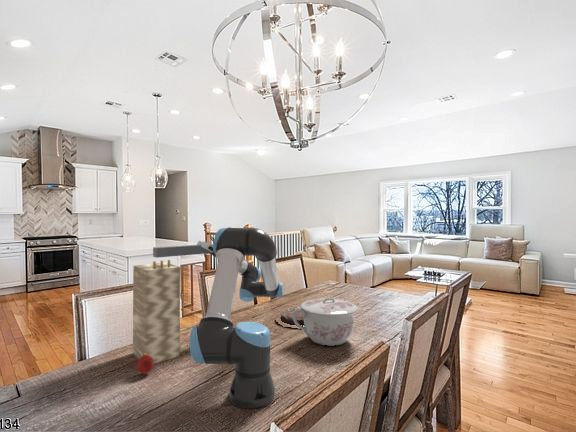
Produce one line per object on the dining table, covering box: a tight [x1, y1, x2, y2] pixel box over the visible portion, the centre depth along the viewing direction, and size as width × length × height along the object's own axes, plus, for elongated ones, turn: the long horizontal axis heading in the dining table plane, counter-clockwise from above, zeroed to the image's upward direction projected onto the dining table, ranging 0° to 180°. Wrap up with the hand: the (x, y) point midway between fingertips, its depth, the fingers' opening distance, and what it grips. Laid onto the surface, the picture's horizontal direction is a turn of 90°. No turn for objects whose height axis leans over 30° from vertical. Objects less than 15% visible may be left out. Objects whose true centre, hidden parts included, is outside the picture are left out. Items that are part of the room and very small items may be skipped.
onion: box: [136, 353, 155, 375], centre depth 120 cm, size 6×6×8 cm
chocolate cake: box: [280, 306, 304, 326], centre depth 183 cm, size 28×28×7 cm
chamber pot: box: [292, 297, 359, 347], centre depth 154 cm, size 28×28×21 cm
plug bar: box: [152, 243, 214, 259], centre depth 145 cm, size 27×4×4 cm, turn 132°
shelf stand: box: [132, 259, 181, 365], centre depth 137 cm, size 14×16×41 cm
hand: (200, 243), depth 150 cm, fingers closed on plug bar, 4 cm apart
